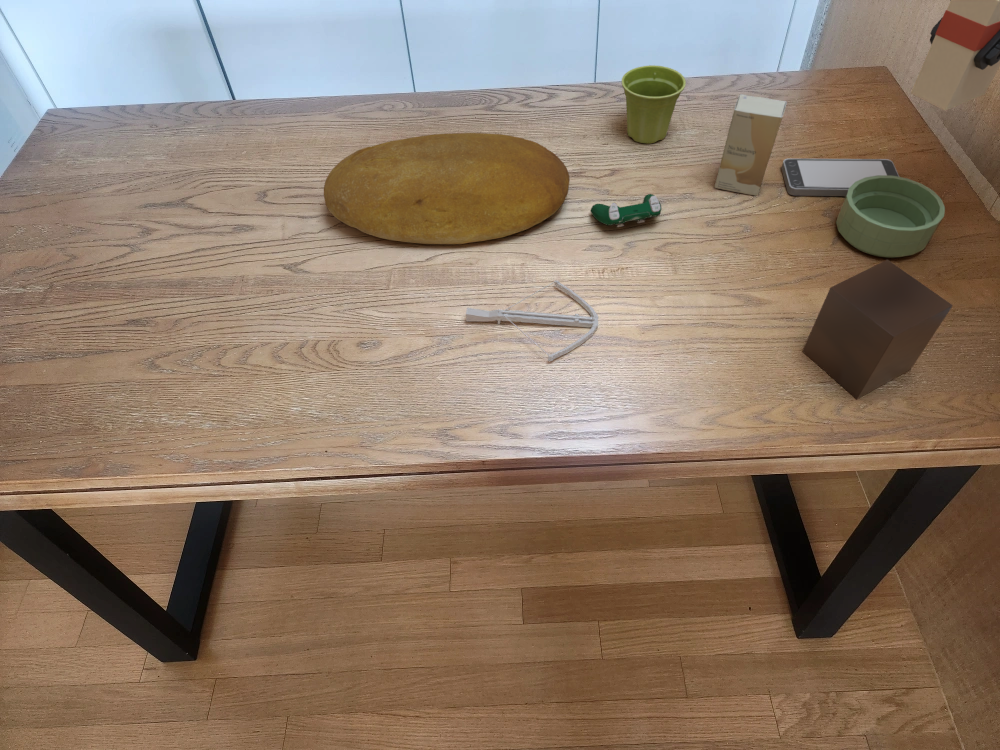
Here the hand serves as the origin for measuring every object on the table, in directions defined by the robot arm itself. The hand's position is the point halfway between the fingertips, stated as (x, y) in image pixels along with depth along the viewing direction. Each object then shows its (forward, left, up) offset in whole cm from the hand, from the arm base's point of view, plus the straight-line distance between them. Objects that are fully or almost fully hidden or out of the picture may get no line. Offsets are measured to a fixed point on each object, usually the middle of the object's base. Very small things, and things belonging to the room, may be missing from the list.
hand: (956, 54), depth 68 cm
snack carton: (0, -2, -5) cm, 5 cm away
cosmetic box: (+18, +6, -24) cm, 31 cm away
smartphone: (+11, -6, -24) cm, 27 cm away
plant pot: (+36, +9, -24) cm, 44 cm away
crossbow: (+10, +45, -24) cm, 52 cm away
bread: (+36, +44, -24) cm, 62 cm away
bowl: (0, -2, -24) cm, 24 cm away
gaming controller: (+20, +24, -24) cm, 40 cm away
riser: (-14, +17, -24) cm, 33 cm away
